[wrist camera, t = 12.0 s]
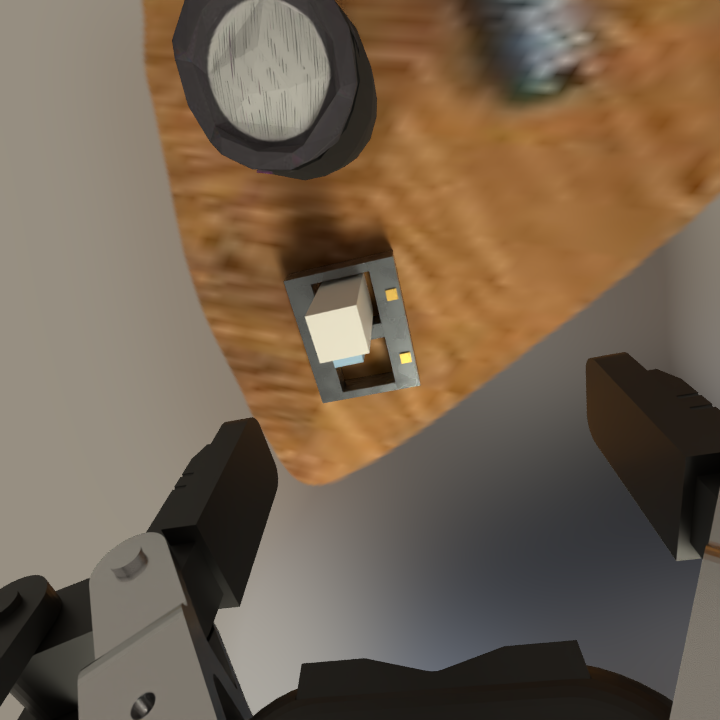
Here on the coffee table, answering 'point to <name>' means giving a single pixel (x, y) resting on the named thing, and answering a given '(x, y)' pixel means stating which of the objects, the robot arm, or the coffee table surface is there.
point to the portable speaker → (277, 83)
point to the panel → (383, 325)
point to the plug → (341, 320)
